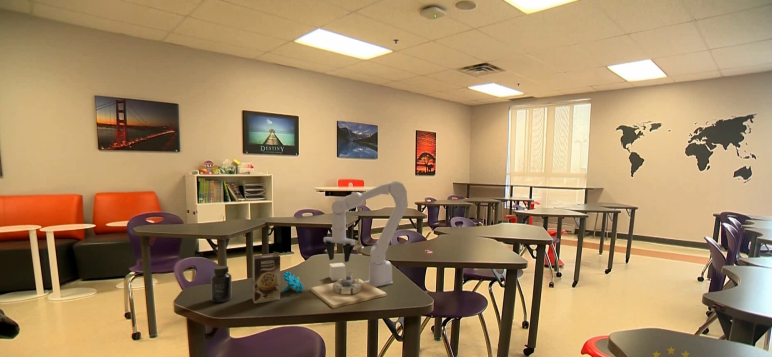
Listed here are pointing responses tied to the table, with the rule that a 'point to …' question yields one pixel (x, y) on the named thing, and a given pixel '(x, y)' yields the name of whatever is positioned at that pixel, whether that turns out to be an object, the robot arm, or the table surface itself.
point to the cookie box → (266, 278)
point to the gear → (292, 282)
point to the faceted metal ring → (354, 287)
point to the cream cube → (337, 271)
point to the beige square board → (345, 299)
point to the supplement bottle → (221, 285)
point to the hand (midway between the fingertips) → (339, 260)
